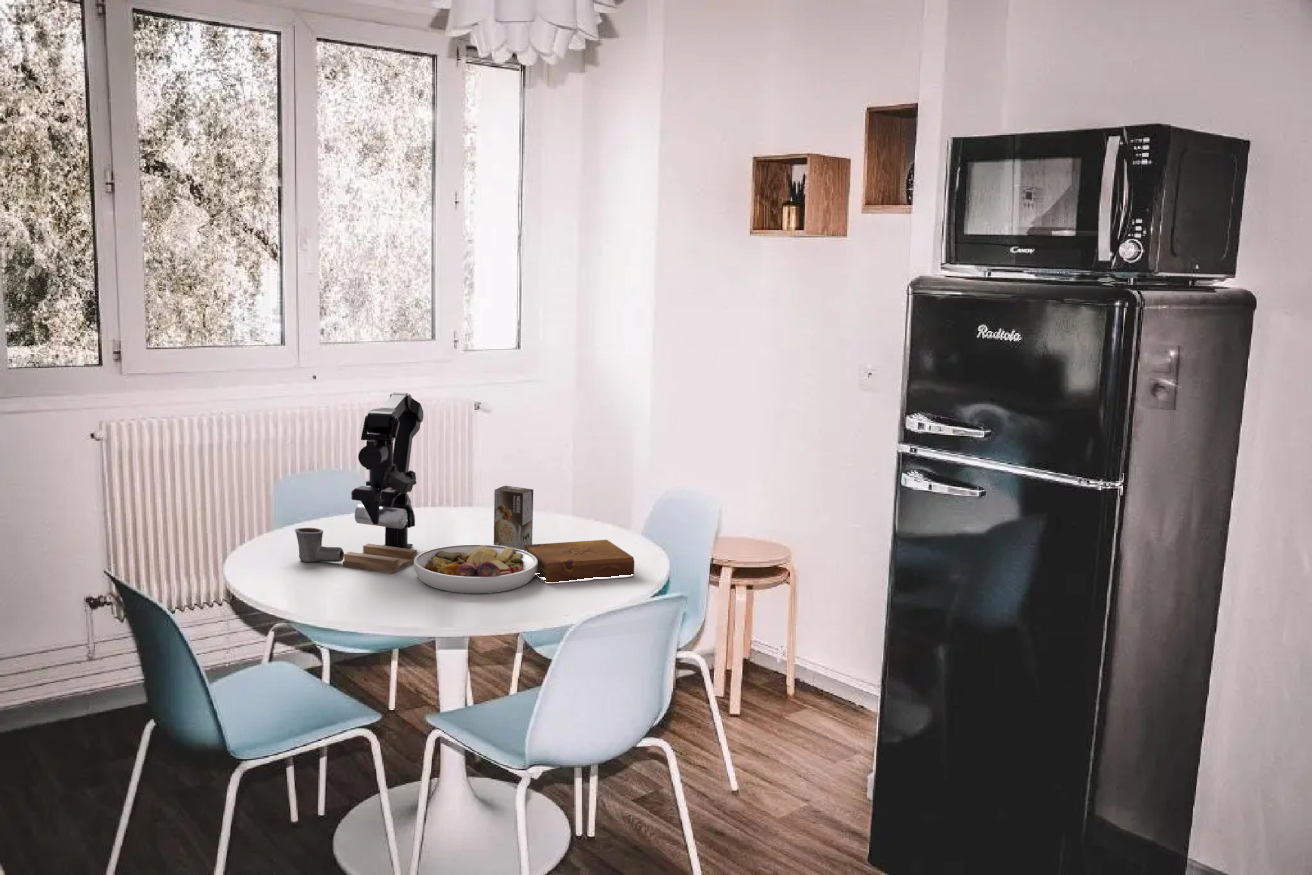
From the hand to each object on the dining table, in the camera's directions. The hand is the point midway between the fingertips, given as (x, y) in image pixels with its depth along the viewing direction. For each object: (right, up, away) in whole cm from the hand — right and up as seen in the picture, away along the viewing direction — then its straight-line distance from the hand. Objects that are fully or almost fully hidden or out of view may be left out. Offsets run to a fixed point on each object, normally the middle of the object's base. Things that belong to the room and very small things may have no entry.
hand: (380, 521), depth 297 cm
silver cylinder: (0, +1, 0) cm, 2 cm away
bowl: (+25, -14, -7) cm, 29 cm away
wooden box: (+49, -13, +4) cm, 51 cm away
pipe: (-16, -10, +1) cm, 19 cm away
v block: (0, -11, +2) cm, 11 cm away
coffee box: (+30, -9, +24) cm, 39 cm away
